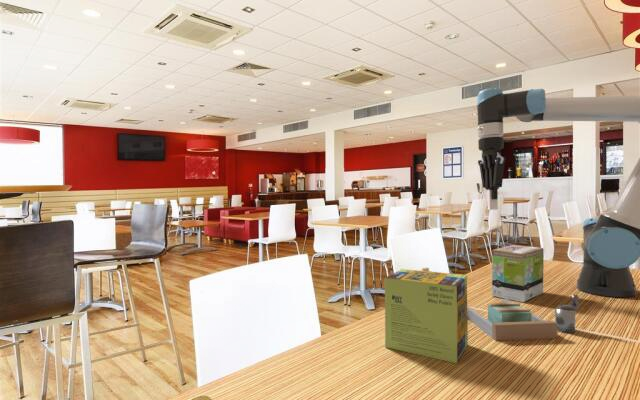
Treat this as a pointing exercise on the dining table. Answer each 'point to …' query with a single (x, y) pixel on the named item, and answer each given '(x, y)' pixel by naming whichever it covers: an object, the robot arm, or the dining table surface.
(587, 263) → the robot arm
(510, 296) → the tea box
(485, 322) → the bay
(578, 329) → the dining table surface
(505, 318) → the crate
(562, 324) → the winch drum
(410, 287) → the protein box
